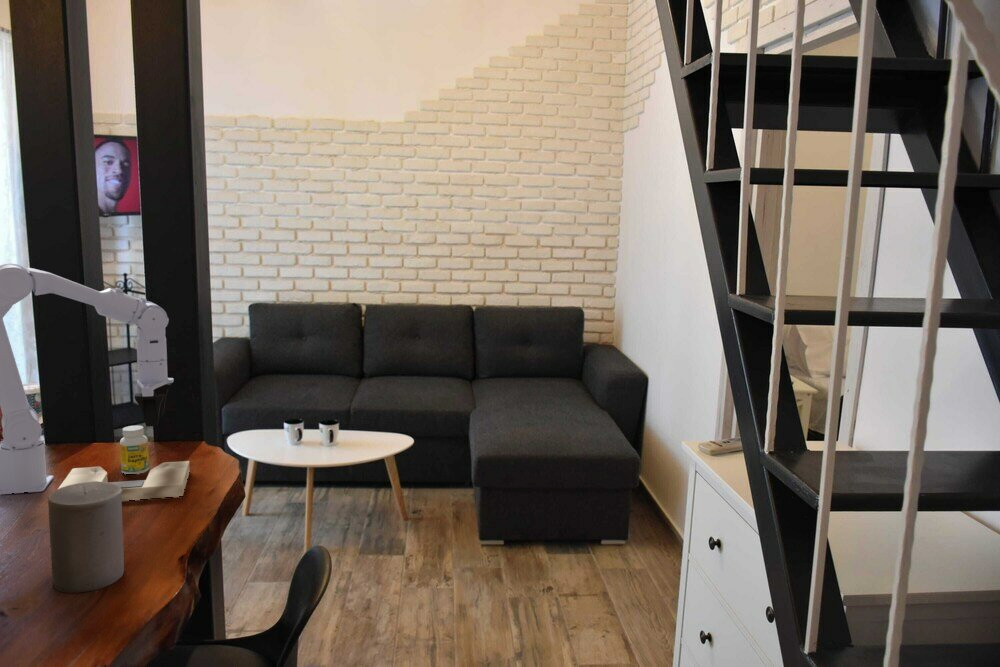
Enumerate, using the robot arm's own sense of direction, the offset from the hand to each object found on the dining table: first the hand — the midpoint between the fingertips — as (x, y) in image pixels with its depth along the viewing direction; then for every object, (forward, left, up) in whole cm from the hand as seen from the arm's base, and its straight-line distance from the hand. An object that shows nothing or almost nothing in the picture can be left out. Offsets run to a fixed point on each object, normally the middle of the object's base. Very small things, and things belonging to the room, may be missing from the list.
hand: (154, 420), depth 156 cm
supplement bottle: (-4, -2, -10) cm, 11 cm away
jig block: (-4, -12, -10) cm, 16 cm away
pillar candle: (-3, -49, -10) cm, 51 cm away
